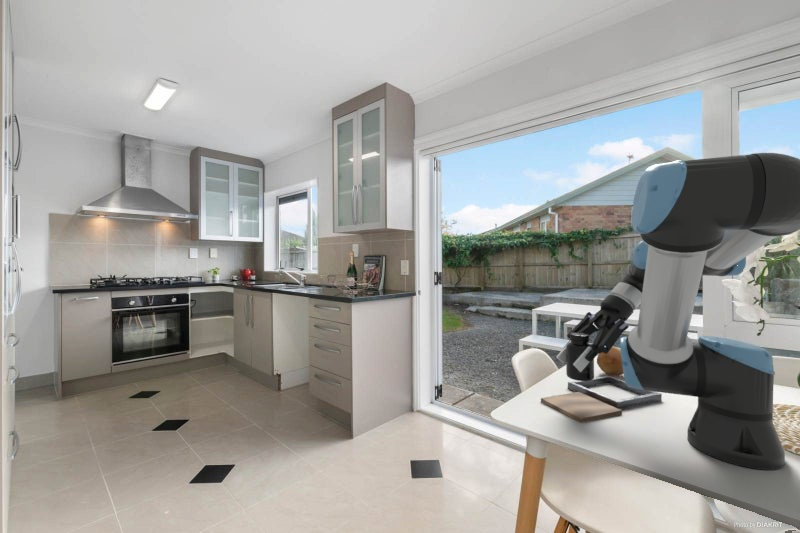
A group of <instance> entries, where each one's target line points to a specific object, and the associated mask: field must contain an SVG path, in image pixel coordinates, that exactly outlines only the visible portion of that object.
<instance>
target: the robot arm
mask: <svg viewBox="0 0 800 533" xmlns="http://www.w3.org/2000/svg"><path fill="white" fill-rule="evenodd" d="M632 205H633V208H632V212H631V226H632V231H634V232H635V233H638V234H639V236H640V239H641V241H639V242H638V243H637V244H636V245H635V247H634V249H633V252H632V253H631V258H630V259H631V260H630V265H629V267H628V271H627V272H626V274H625V275H624V276H623V278H622V279H621V280H619V282H618V283H617V284H616V285H615V287H614V288H612V289H611V291H610V292H608V293H609V294H608V295H607V296H606V297H605V298H604V299H603V300H602V301H601V302H600V310H598V311H597V312H595V313H591V312H587V313H585V316H584V317H583V318H582V319H581V320H580V322H578V323H577V324H576V325H575V327H573V329H571V331H570V332H568V334H567V335H566V337H567V338H568V339H569V341H568V342H567V343H566V344H565V345H564V346H563V348H562V349H561V351H559V353H558V354H557V355H556V356H555V357H556V359H558V361H560V363H561V364H565V363H566V346H567V344H568V343H570V342H571V341H570V333H585V334H589V336H591V335H592V334H594V333H595V332H598V333H597V335H596V337H595V338H594V341H593V342H592V343H589V344H590V346H591V347H592V348H591V347H589V346H588V347H587V348H586V350H585V351H584V352H583V353H582V354H581V355H580V357H579V358H578V359H577V360H576V361H575V362H574V364H573V365H574V366H575V367H576V368H577V369H578V370H579V371H580V372H582V370H583V369H584V368H585V367H586V366H587V365H588V363H589V362H591V361H592V360H593V359H594V360H595V358H597V357H598V354H600V353H602V352H603V353H605V354H607V353H608V352H609V350H610V349H611V348H612V346H613V347H614V345H615V344H616V342H617V341H618V339H619V347H620V348H619V349H620V350H621V357H622V365H623V374H622V375H623V381H625V383H626V385H627V386H629V387H631V388H636V389H641V390H644V391H654V392H658V393H661V394H662V393H663V394H670V395H671V394H673V395H679V396H680V395H681V396H689V397H697V408H696V409H695V411H694V414H693V417H692V418H691V421H690V422H689V424H688V428H687V441H688V442H689V444H691V445H692V446H693V447H694V448H695V449H697V450H698V451H700V452H702V453H704V454H706V455H708V456H710V457H713V458H715V459H717V460H721V461H722V462H723V461H724V462H725V463H729V464H732V465H736V466H741V467H744V468H750V469H758V470H779V469H782V468H783V467H784V466H785V464H786V462H785V461H786V455H785V450H784V449H785V448H784V447H783V445H782V441H781V440H780V437H779V435H778V432H777V429H776V428H775V425H774V421H773V420H774V418H773V415H774V414H773V413H774V378H775V376H776V372H775V369H774V358H773V355H772V354H771V353H770V351H768V350H767V349H766V348H764V347H761V346H758V345H755V344H753V343H748V342H745V341H740V340H736V339H732V338H726V337H719V336H714V335H700V336H698V337H699V338H698V339H697V342H693V341H692V339H691V338H690V337H689V336H688V333H689V329H690V325H691V320H692V316H693V313H694V312H693V311H694V308H695V304H696V302H697V301H696V300H697V296H698V291H699V289H700V283H701V279H702V276H713V277H714V276H715V277H717V276H718V277H726V276H739V275H741V274H742V273H743V272H744V270H745V268H746V264H747V257H748V256H750V255H751V254H752V253H754V252H755V251H757V250H759V249H760V248H761V247H763V246H765V245H766V244H767V243H769V242H771V241H772V240H773V239H775V238H777V237H778V238H779V237H783V236H784V237H785V236H787V235H791V234H794V233H796V232H797V231H799V230H800V158H799V157H795V156H792V155H788V154H784V153H777V152H758V153H757V152H755V153H750V154H740V155H738V154H737V155H731V156H720V157H711V158H701V159H700V158H699V159H698V158H697V159H689V160H682V159H678V160H674V161H671V162H664V163H658V164H657V163H656V164H653V165H651V166H649V167H648V168H646V169H645V171H643V173H642V174H641V176H640V178H639V181H638V182H637V186H636V189H635V193H634V197H633V202H632ZM737 265H738V266H737ZM639 306H640V307H639ZM638 307H639V314H638V315H639V316H638V322H637V325H636V326H635V327H633V328H632V329H631V330H630V331H629V333H628V336H623V337H621V335H622V334H623V333H624V332H625V331H626V330H628V329H629V327H630V325H628V323H627V322H626V321H628V319H630V317H631V316H632V315H633V314H634V311H635V310H636V309H637V308H638Z"/></svg>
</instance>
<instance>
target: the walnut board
mask: <svg viewBox="0 0 800 533" xmlns="http://www.w3.org/2000/svg"><path fill="white" fill-rule="evenodd" d="M540 402H541V403H543V404H544V403H545V405H547V406H548V405H549V407H551V408H552V409H554V410H556V411H558V412H560V413H561V414H564V415H565V416H568V417H570V419H573V420H575V421H577V422H579V423H586V422H591V421H596V420H599V419H604V418H609V417H613V416H618V415H622V414H623V411H622V409H618V408H615V407H613V406H611V405H608V404H606V403H604V402H601V401H599V400H597V399H594V398H592V397H590V396H587V395H585V394H583V393H580V392H575V391H573V392H570V393H564V394H557V395H552V396H545V397H541V398H540Z"/></svg>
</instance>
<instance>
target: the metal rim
mask: <svg viewBox="0 0 800 533" xmlns="http://www.w3.org/2000/svg"><path fill="white" fill-rule="evenodd" d="M606 384H607V385H608V384H610V385H612V386H615V387H618V388H620V389H621V388H622V389H624V390H626V391H629V392H632V393H635V394H638V395H636V396H631V397H630V396H629V397H627V398H621V399H615V398H612V397H609V396H608V395H605V394H602V393H600V392H598V391H595V390H593V389H590V388H588V387H595V386H600V385H606ZM567 389H569V390H572V391H573V392H580V393H583V394H585V395H587V396H590V397H592V398H594V399H597V400H599V401H601V402H604V403H606V404H608V405H611V406H613V407H615V408H618V409H620V410H622V409H626V408H632V407H638V406H643V405H647V404H648V405H649V404H653V403H657V402H661V401H662V398H663V397H662V393H661V392H654V391H644V390H641V389H636V388H631V387H629V386H627V385H626V383H625V381H624V379H619V378H616V377H614V376H612V375H603V376H598V377H597V376H596V377H594V379H593V380H591V381H578V380H571V381H570V380H569V381H567Z"/></svg>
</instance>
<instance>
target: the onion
mask: <svg viewBox="0 0 800 533" xmlns="http://www.w3.org/2000/svg"><path fill="white" fill-rule="evenodd" d="M596 364H597V366H598V368H600V370H601V371H602V372H603V373H604V374H607V375H608V376H616V377H619V376H622V375H624V374H623V365H622V357H621V349H620V348H618V347H616V346H614V345H613V346H612V348H611V349H610V350H609V352H608V353H607V354H605V353H603V352H602V353H600V354H597V356H596Z"/></svg>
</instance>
